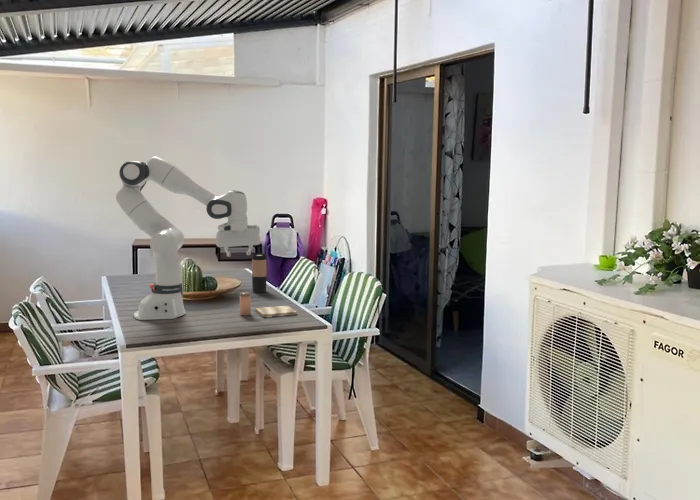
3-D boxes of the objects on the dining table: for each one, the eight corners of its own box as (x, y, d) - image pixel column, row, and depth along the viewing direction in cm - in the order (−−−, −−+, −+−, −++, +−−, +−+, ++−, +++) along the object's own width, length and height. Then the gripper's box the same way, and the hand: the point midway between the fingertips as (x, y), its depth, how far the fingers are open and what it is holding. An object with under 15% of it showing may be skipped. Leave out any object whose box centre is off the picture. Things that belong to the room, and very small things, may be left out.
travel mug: (249, 292, 347) (249, 254, 344) (257, 289, 354) (257, 253, 351) (261, 293, 344) (261, 256, 341) (269, 291, 350) (269, 254, 347)
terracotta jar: (241, 316, 295) (241, 294, 293) (238, 313, 299) (238, 292, 298) (252, 315, 297) (251, 293, 295) (249, 312, 301) (249, 291, 300)
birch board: (263, 317, 293) (263, 314, 293) (255, 311, 305) (255, 308, 304) (296, 314, 299) (296, 311, 299) (288, 308, 311) (288, 305, 311)
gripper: (257, 224, 306) (258, 253, 308) (214, 226, 297) (215, 256, 299) (261, 225, 301) (262, 255, 303) (218, 227, 292) (219, 258, 294)
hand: (238, 255), depth 301 cm, fingers open, 8 cm apart
